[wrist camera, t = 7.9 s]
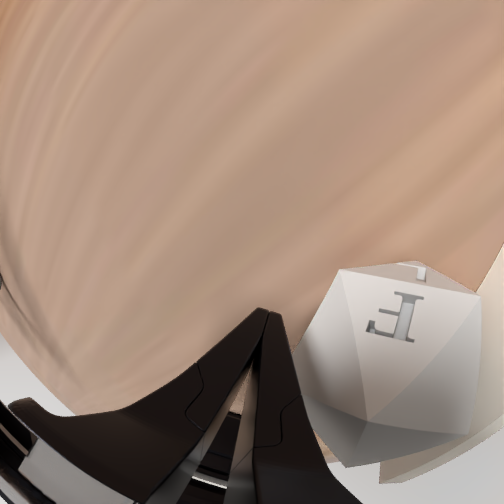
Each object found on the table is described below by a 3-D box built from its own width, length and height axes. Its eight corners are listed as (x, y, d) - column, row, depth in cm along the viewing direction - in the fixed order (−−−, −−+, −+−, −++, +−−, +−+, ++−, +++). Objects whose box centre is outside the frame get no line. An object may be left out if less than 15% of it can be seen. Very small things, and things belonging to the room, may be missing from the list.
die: (480, 273, 11) (556, 280, 3) (436, 413, 11) (422, 532, 3) (350, 250, 15) (262, 229, 8) (320, 382, 16) (223, 461, 8)
